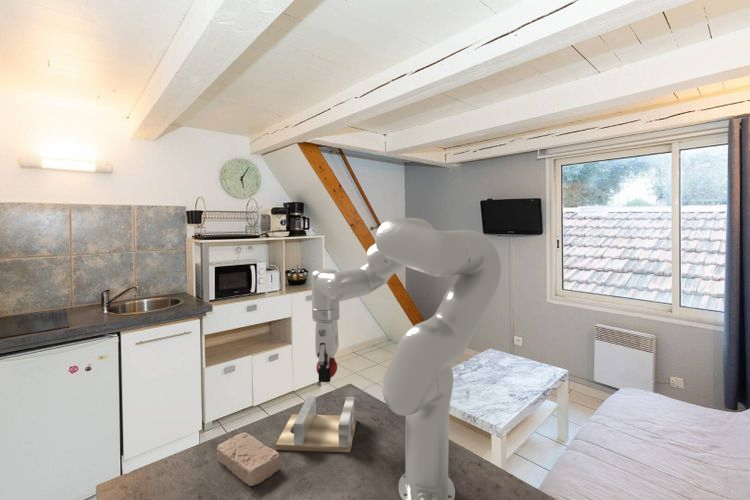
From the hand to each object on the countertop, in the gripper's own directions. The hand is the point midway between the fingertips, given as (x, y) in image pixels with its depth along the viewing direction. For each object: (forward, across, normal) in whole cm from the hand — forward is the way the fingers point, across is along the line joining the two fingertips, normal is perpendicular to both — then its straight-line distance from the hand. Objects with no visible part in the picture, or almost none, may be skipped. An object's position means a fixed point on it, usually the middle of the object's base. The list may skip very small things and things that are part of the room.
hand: (327, 375), depth 99 cm
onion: (+1, 0, 0) cm, 1 cm away
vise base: (+17, 0, +3) cm, 18 cm away
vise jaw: (+16, 0, +7) cm, 17 cm away
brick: (+18, -14, +18) cm, 29 cm away
